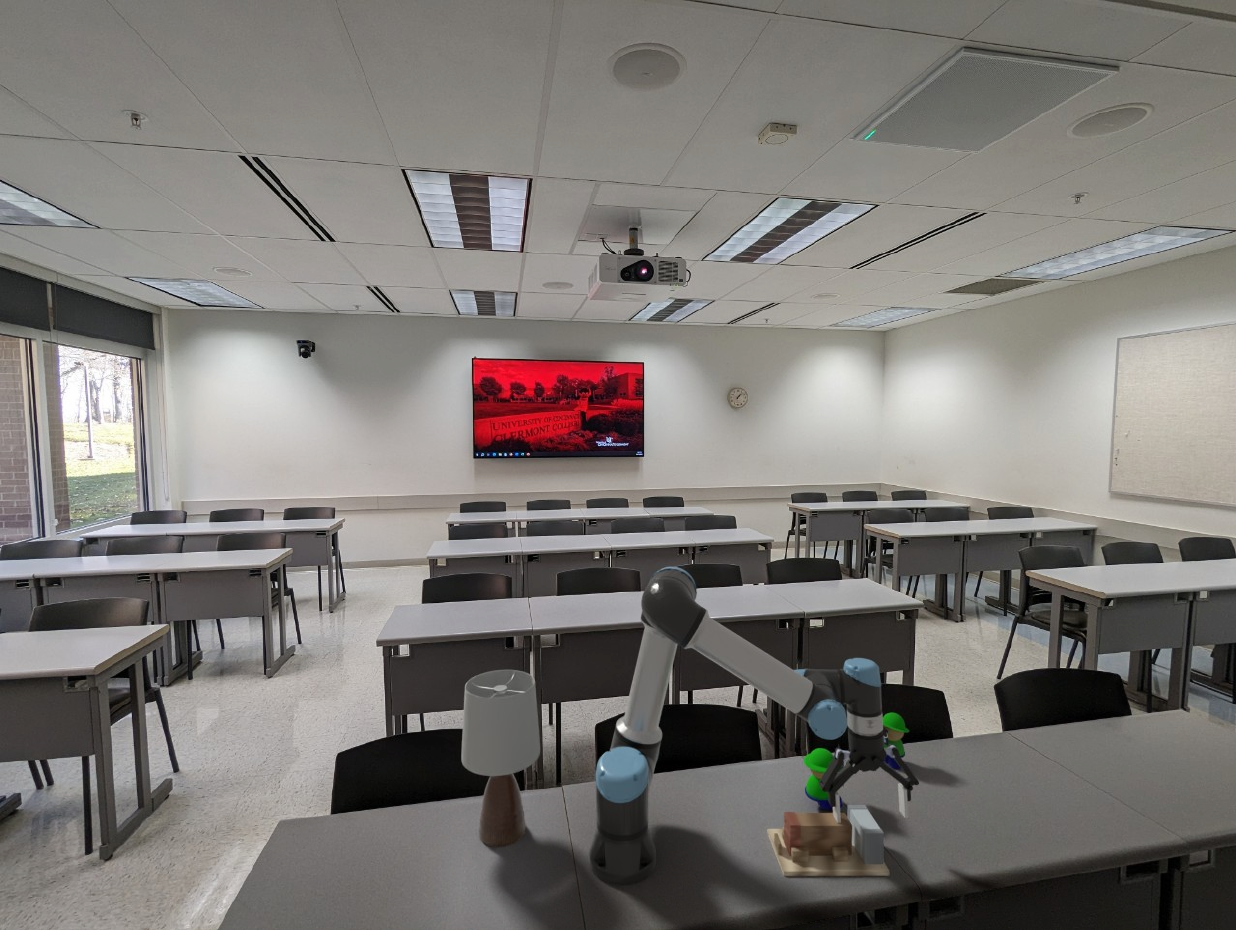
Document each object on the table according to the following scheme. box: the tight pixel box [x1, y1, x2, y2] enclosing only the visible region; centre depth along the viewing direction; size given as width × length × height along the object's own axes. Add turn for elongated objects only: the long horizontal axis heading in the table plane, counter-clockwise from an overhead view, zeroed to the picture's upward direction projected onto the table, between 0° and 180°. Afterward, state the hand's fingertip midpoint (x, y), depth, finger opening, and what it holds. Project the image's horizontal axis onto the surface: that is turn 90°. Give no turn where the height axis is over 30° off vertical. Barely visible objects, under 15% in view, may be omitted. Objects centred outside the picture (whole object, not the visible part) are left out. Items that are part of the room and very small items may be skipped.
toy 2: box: [882, 712, 910, 771], centre depth 173 cm, size 9×9×15 cm
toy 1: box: [803, 743, 845, 811], centre depth 154 cm, size 11×9×15 cm
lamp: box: [460, 669, 541, 848], centre depth 143 cm, size 19×19×37 cm
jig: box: [767, 825, 890, 877], centre depth 136 cm, size 23×14×4 cm, turn 90°
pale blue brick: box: [846, 804, 885, 864], centre depth 136 cm, size 4×10×7 cm, turn 0°
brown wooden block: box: [783, 811, 852, 856], centre depth 136 cm, size 14×5×7 cm, turn 90°
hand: (870, 820), depth 136 cm, fingers open, 15 cm apart
